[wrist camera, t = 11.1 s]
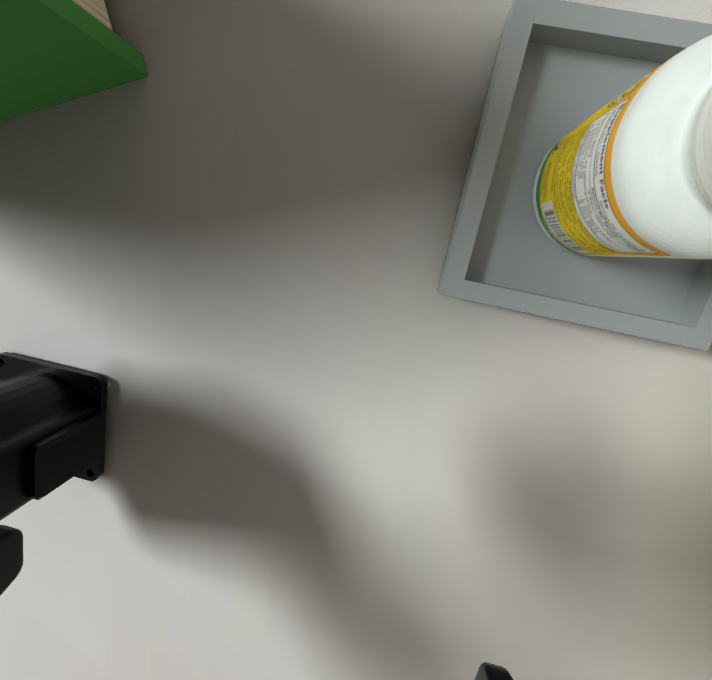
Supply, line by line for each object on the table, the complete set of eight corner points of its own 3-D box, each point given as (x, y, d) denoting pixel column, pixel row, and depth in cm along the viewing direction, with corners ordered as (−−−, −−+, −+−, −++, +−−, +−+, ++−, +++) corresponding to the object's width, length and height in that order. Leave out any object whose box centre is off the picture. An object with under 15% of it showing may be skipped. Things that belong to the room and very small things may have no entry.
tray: (437, 290, 18) (441, 294, 17) (504, 22, 16) (517, -7, 14) (677, 341, 18) (708, 351, 16) (791, 68, 15) (843, 44, 13)
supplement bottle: (517, 248, 17) (656, 245, 8) (545, 112, 16) (754, -90, 6) (647, 263, 16) (965, 280, 7) (687, 124, 15) (1139, -75, 6)
